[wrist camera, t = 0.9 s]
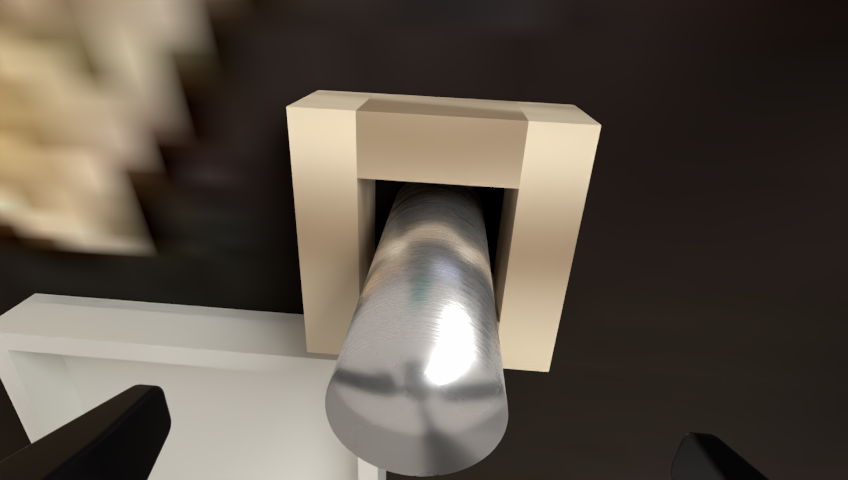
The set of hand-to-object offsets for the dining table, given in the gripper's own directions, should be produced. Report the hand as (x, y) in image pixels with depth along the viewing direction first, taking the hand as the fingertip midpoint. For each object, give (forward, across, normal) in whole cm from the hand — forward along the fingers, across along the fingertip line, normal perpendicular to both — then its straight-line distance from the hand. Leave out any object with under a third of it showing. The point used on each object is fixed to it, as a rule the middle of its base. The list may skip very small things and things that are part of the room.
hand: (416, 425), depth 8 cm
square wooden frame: (+9, 0, 0) cm, 9 cm away
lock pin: (+9, 0, 0) cm, 9 cm away
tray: (+9, +9, +12) cm, 18 cm away
